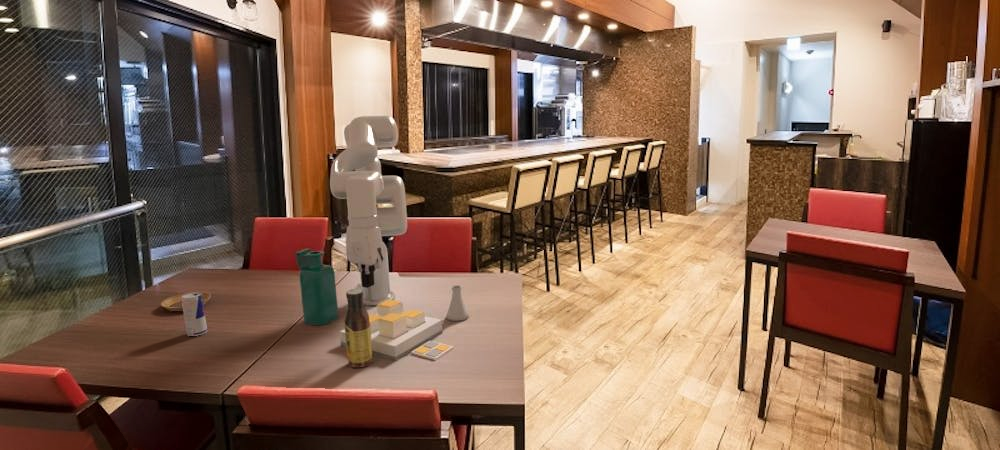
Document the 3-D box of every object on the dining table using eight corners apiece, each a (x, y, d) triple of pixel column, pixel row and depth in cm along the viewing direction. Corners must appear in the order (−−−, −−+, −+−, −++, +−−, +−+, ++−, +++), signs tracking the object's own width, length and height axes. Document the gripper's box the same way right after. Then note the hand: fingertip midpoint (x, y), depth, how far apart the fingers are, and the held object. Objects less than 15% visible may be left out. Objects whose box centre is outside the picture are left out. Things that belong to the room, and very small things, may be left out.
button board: (341, 344, 153) (340, 331, 152) (390, 320, 170) (389, 308, 169) (395, 360, 143) (394, 346, 142) (442, 332, 160) (441, 319, 159)
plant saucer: (167, 318, 176) (166, 310, 175) (157, 306, 187) (156, 299, 186) (217, 306, 185) (216, 299, 185) (205, 296, 196) (204, 289, 196)
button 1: (358, 336, 154) (357, 319, 153) (371, 329, 158) (370, 313, 157) (372, 339, 151) (370, 322, 150) (385, 332, 155) (384, 316, 154)
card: (411, 353, 147) (411, 351, 146) (430, 342, 153) (429, 339, 153) (435, 360, 142) (435, 357, 142) (453, 348, 149) (453, 345, 149)
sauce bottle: (350, 358, 145) (344, 286, 140) (374, 357, 145) (369, 285, 141) (345, 370, 138) (339, 295, 134) (371, 368, 139) (365, 294, 134)
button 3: (379, 336, 149) (378, 318, 148) (392, 329, 154) (391, 312, 153) (393, 339, 147) (392, 322, 146) (406, 332, 151) (405, 315, 150)
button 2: (378, 320, 160) (376, 304, 159) (390, 314, 164) (389, 298, 163) (391, 323, 157) (390, 307, 156) (403, 317, 162) (402, 301, 161)
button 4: (399, 331, 156) (398, 314, 155) (411, 324, 161) (410, 308, 160) (413, 334, 154) (412, 318, 153) (425, 328, 158) (424, 311, 157)
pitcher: (341, 317, 173) (335, 249, 168) (322, 327, 166) (315, 256, 161) (317, 312, 177) (310, 246, 172) (297, 322, 170) (290, 253, 165)
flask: (466, 322, 167) (464, 291, 165) (443, 321, 168) (441, 290, 166) (471, 313, 174) (470, 283, 172) (449, 312, 175) (448, 282, 173)
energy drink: (211, 331, 164) (206, 293, 162) (196, 338, 159) (190, 299, 157) (197, 329, 166) (192, 291, 163) (182, 336, 161) (176, 297, 159)
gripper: (332, 221, 148) (338, 285, 153) (374, 228, 141) (379, 295, 145) (353, 215, 154) (358, 277, 159) (393, 221, 147) (398, 286, 151)
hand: (368, 285), depth 152 cm, fingers closed
